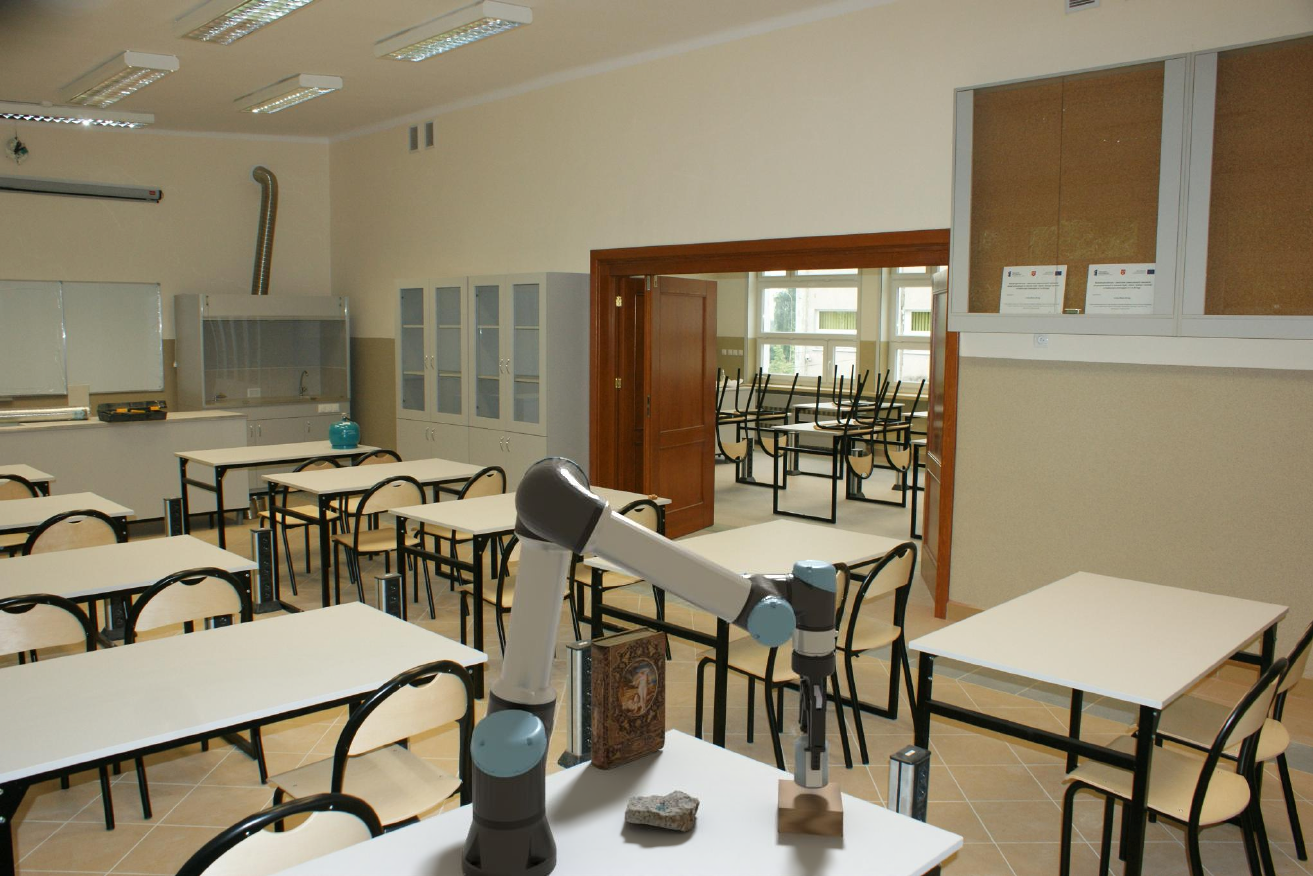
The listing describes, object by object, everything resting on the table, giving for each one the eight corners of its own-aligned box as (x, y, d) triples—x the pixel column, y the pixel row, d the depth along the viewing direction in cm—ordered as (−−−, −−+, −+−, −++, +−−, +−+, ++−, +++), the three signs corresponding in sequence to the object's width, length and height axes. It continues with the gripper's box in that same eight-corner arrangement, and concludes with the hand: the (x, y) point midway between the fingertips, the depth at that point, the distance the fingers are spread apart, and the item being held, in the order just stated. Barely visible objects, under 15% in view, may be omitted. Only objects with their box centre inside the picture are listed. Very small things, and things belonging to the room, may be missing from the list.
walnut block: (778, 835, 167) (778, 807, 167) (778, 805, 178) (778, 779, 178) (842, 839, 166) (843, 811, 165) (838, 809, 177) (839, 782, 176)
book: (604, 771, 191) (604, 647, 188) (586, 762, 195) (586, 641, 192) (665, 748, 202) (666, 631, 200) (647, 740, 206) (648, 625, 204)
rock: (620, 832, 166) (620, 804, 166) (631, 808, 176) (630, 781, 175) (695, 837, 164) (694, 808, 164) (701, 812, 174) (701, 785, 173)
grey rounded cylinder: (796, 789, 168) (797, 750, 167) (791, 773, 174) (792, 736, 173) (831, 788, 168) (831, 750, 168) (824, 773, 174) (825, 736, 174)
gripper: (845, 667, 159) (842, 802, 162) (824, 633, 178) (822, 754, 181) (800, 667, 159) (797, 802, 162) (784, 633, 178) (782, 754, 180)
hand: (810, 776), depth 171 cm, fingers closed on grey rounded cylinder, 6 cm apart
